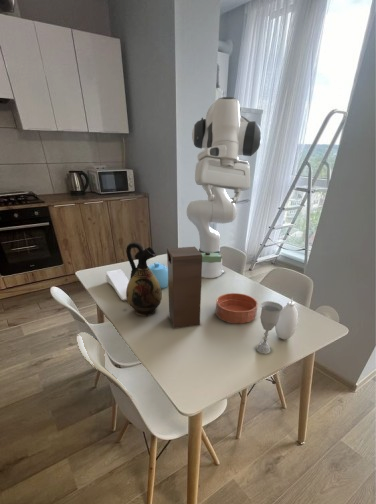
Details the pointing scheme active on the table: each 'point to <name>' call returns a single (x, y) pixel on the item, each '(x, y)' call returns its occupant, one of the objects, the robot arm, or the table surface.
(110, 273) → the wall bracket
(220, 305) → the bowl
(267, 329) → the chalice
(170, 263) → the stand
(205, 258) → the green rectangular block
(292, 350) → the table surface
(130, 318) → the table surface
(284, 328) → the white tall oval piece
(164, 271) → the sugar bowl
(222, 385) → the table surface
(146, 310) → the ceramic jug
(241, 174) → the robot arm
